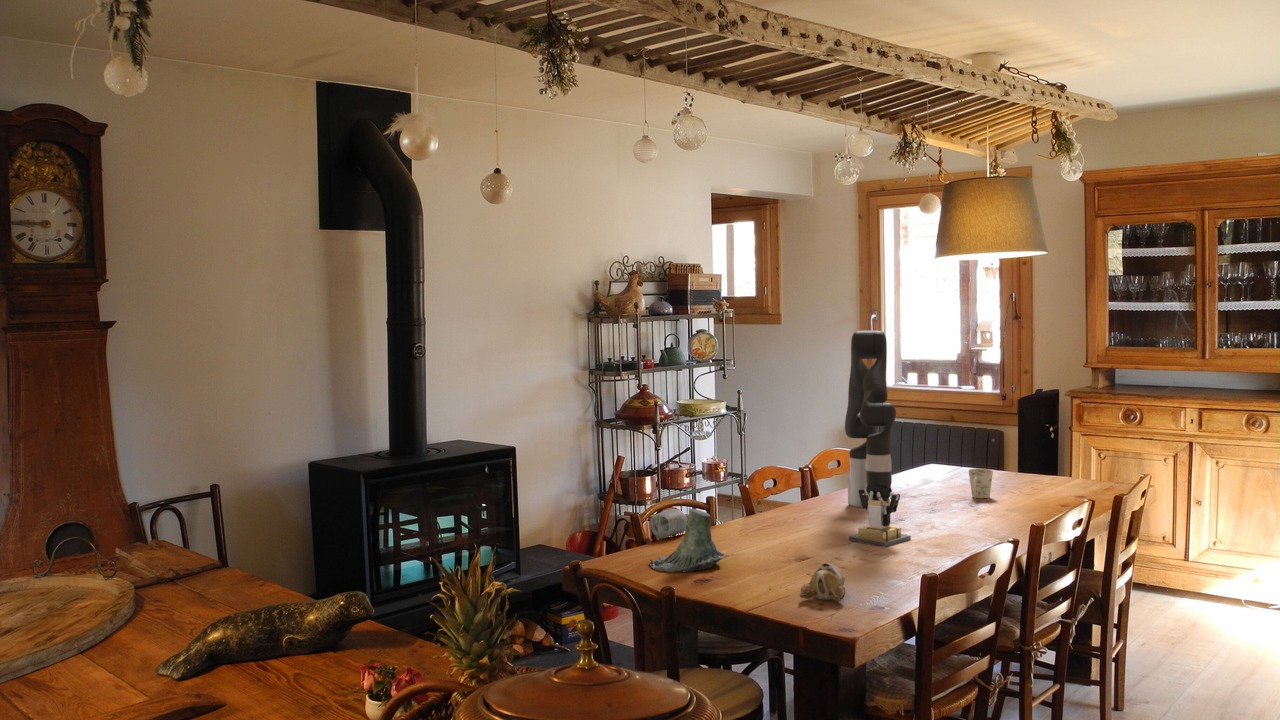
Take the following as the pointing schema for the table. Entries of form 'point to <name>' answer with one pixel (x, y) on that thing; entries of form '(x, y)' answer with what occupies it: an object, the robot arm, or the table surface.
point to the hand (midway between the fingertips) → (879, 524)
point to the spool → (668, 523)
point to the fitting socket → (880, 536)
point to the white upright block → (876, 515)
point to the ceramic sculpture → (825, 584)
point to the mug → (980, 482)
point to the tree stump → (692, 547)
